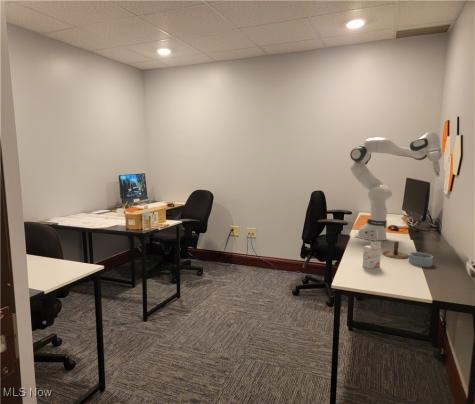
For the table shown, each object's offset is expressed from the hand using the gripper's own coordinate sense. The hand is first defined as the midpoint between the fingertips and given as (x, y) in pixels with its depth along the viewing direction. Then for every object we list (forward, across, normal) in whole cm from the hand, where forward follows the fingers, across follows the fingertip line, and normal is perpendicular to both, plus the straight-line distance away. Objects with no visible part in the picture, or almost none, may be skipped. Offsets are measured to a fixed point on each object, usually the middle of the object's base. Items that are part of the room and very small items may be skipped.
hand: (437, 173), depth 222 cm
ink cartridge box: (+66, +35, -39) cm, 84 cm away
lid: (+54, +5, -30) cm, 62 cm away
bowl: (+61, +13, -16) cm, 64 cm away
